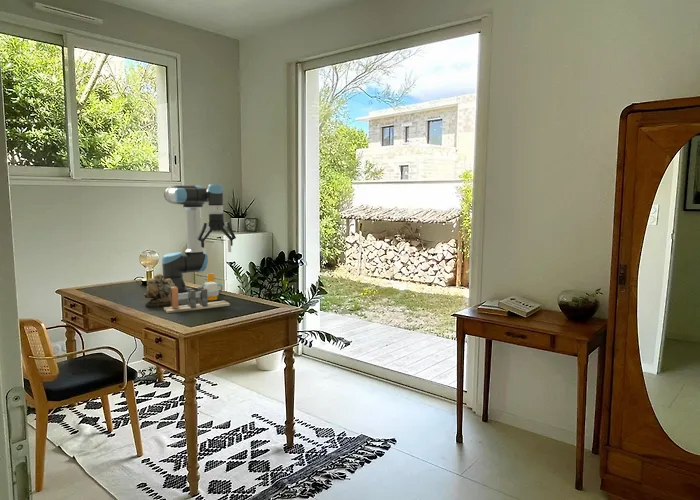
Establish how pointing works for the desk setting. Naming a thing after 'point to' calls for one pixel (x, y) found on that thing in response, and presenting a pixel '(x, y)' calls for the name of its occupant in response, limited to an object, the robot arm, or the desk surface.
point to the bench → (186, 308)
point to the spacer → (211, 286)
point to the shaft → (185, 295)
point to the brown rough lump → (158, 291)
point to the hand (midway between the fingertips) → (217, 252)
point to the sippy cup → (212, 279)
